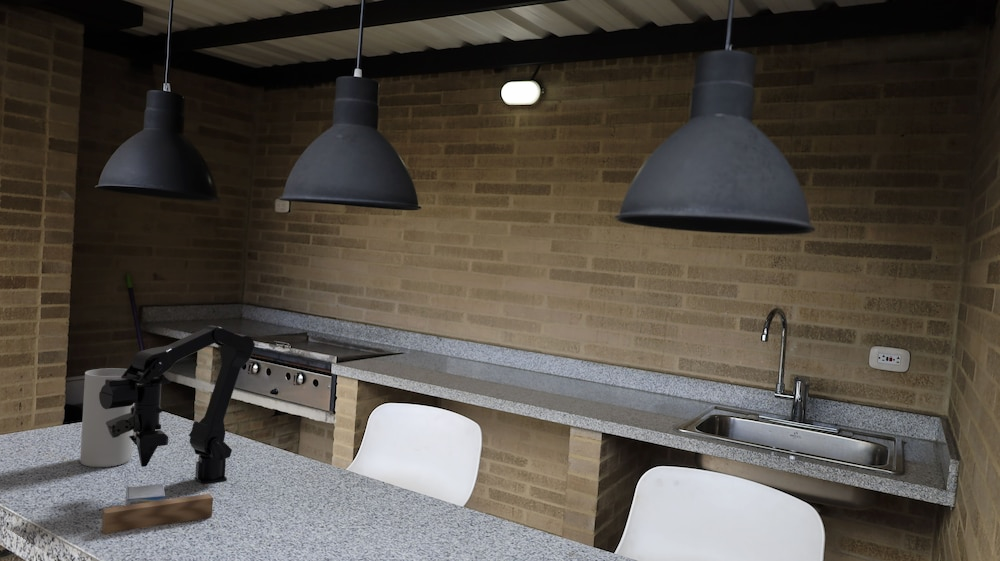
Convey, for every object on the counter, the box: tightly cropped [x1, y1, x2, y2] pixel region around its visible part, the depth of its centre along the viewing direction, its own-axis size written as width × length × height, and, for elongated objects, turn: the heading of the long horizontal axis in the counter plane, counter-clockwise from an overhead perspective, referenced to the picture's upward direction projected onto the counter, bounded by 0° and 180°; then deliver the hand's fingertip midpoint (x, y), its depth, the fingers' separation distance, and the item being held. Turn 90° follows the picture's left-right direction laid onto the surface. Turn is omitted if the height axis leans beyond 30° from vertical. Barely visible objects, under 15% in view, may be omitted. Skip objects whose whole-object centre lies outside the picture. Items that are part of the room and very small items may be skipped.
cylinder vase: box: [79, 367, 134, 468], centre depth 195 cm, size 12×12×25 cm
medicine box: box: [125, 483, 166, 505], centre depth 163 cm, size 8×4×9 cm
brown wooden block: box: [101, 493, 214, 535], centre depth 157 cm, size 22×3×4 cm, turn 128°
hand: (143, 466), depth 171 cm, fingers closed
